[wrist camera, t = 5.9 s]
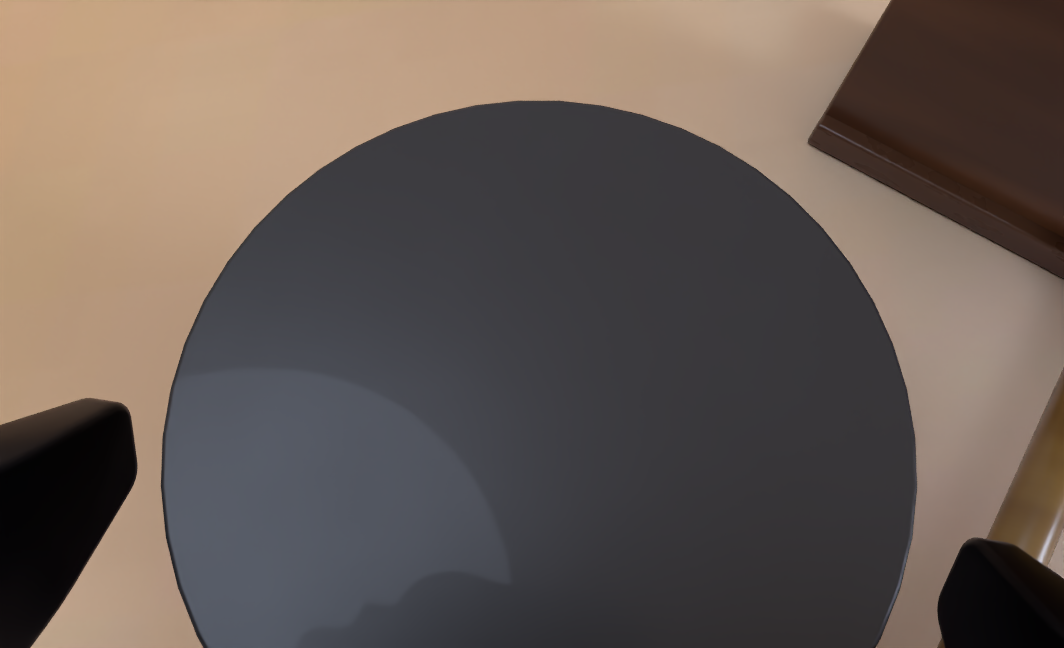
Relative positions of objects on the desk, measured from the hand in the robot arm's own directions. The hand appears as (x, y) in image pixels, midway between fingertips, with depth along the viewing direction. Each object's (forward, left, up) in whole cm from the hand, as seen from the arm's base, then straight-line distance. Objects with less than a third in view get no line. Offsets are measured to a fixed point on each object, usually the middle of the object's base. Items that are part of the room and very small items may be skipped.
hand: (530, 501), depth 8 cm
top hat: (0, +1, -8) cm, 8 cm away
